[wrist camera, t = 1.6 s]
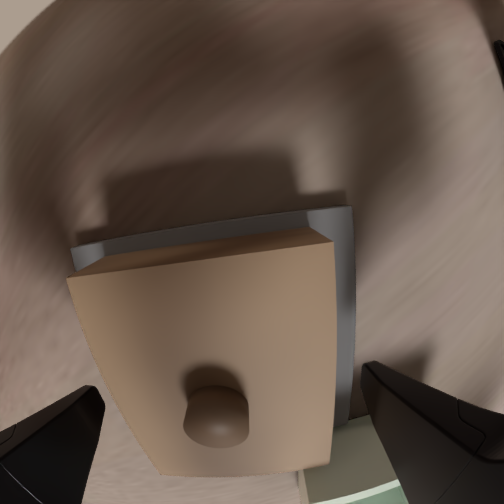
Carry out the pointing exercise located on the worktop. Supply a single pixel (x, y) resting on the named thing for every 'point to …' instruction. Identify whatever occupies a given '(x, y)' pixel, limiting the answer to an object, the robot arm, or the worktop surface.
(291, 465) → the cover
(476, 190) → the worktop surface
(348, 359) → the mat
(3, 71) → the worktop surface
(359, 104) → the worktop surface
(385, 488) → the pale green box
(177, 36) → the worktop surface
